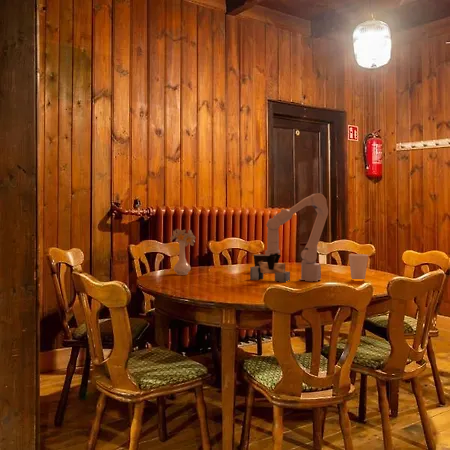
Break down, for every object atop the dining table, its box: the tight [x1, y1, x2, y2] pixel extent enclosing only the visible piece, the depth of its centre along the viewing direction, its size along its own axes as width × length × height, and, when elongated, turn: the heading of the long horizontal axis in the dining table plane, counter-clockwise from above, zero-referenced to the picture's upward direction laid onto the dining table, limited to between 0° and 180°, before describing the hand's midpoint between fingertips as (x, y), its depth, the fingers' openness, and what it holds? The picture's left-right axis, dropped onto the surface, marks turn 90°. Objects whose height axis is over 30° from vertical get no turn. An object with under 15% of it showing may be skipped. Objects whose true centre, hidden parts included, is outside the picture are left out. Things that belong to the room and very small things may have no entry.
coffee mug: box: [253, 253, 267, 266], centre depth 270 cm, size 12×9×10 cm
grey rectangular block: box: [249, 265, 264, 281], centre depth 244 cm, size 4×7×6 cm, turn 151°
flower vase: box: [169, 228, 197, 276], centre depth 261 cm, size 13×18×25 cm
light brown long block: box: [260, 262, 286, 275], centre depth 240 cm, size 12×4×5 cm, turn 61°
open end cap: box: [274, 270, 291, 283], centre depth 238 cm, size 5×7×5 cm
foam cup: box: [348, 253, 369, 280], centre depth 241 cm, size 10×9×13 cm
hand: (272, 269), depth 240 cm, fingers closed on light brown long block, 3 cm apart
